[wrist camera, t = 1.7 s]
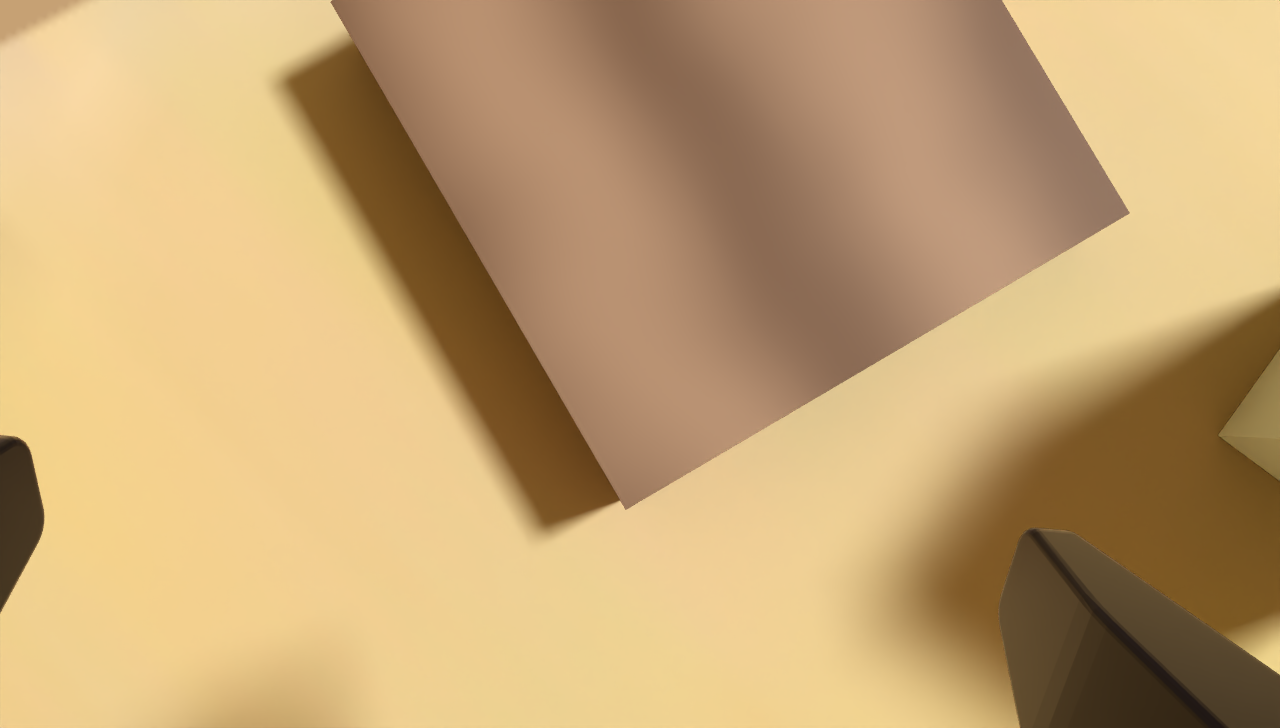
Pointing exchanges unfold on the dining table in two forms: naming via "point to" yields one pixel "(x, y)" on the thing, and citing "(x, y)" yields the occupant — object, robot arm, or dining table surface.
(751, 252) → the walnut base
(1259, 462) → the sage block
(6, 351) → the dining table surface
